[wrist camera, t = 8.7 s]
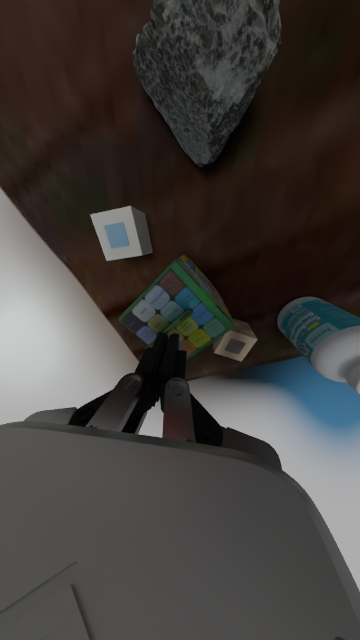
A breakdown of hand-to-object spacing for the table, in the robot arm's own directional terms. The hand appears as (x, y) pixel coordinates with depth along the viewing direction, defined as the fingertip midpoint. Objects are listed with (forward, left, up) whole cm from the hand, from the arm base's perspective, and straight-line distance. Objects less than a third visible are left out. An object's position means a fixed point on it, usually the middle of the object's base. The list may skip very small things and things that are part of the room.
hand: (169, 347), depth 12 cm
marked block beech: (-9, +7, -15) cm, 19 cm away
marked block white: (+8, -8, -15) cm, 19 cm away
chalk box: (0, 0, -15) cm, 15 cm away
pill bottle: (-20, +3, -15) cm, 25 cm away
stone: (-1, -20, -15) cm, 25 cm away
